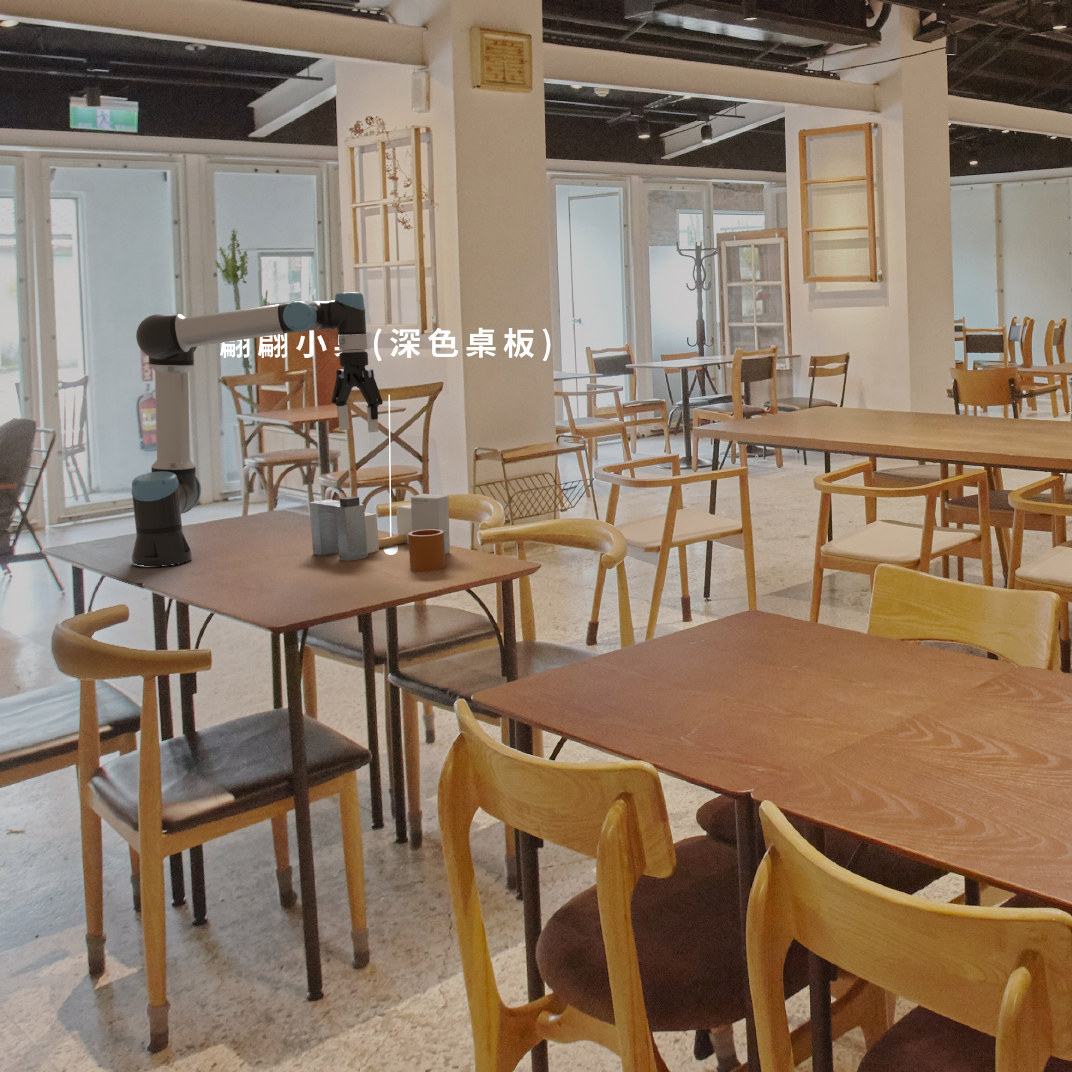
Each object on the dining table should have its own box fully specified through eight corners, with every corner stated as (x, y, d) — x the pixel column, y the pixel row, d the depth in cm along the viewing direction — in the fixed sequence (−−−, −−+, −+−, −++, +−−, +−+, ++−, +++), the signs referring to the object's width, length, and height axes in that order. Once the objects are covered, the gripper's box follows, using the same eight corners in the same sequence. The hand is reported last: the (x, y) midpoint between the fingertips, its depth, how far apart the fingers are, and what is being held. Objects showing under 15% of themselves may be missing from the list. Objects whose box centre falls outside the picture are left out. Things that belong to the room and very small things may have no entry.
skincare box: (412, 556, 317) (408, 497, 314) (423, 551, 323) (420, 493, 320) (440, 557, 313) (437, 497, 311) (452, 552, 319) (448, 493, 317)
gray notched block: (313, 554, 325) (308, 494, 322) (332, 550, 329) (327, 492, 326) (348, 561, 313) (344, 500, 310) (367, 557, 317) (363, 496, 314)
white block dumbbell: (350, 551, 327) (348, 514, 325) (412, 539, 341) (410, 504, 339) (363, 553, 322) (361, 516, 321) (425, 541, 336) (423, 505, 335)
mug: (456, 562, 307) (454, 527, 305) (437, 572, 296) (436, 536, 294) (423, 560, 310) (421, 525, 308) (403, 571, 298) (402, 535, 297)
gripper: (315, 352, 330) (321, 430, 333) (369, 351, 312) (374, 434, 315) (338, 350, 335) (343, 427, 338) (392, 350, 317) (397, 431, 320)
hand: (358, 431), depth 327 cm, fingers open, 13 cm apart
